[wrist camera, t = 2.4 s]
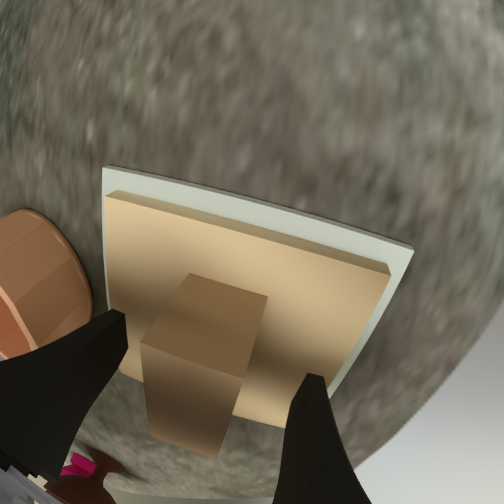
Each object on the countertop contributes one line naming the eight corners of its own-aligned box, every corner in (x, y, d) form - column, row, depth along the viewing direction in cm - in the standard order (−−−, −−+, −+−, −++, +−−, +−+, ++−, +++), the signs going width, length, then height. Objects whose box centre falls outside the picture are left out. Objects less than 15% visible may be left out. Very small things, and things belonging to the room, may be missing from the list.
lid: (299, 418, 14) (287, 490, 10) (126, 362, 15) (88, 420, 11) (386, 263, 10) (416, 358, 6) (117, 189, 10) (31, 237, 7)
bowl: (67, 344, 17) (29, 388, 13) (-4, 256, 15) (-48, 289, 11) (116, 297, 13) (62, 359, 10) (23, 178, 12) (-45, 210, 8)
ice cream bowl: (60, 430, 29) (14, 504, 16) (108, 446, 26) (56, 542, 13) (106, 469, 33) (70, 537, 20) (158, 485, 30) (122, 568, 16)
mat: (308, 422, 15) (308, 427, 15) (120, 360, 16) (116, 365, 16) (411, 245, 9) (414, 250, 9) (108, 165, 10) (102, 167, 10)
